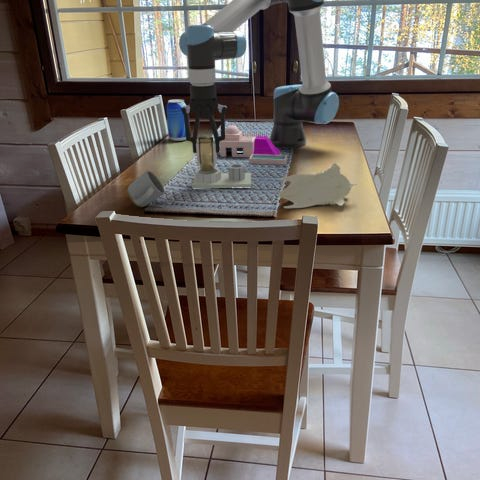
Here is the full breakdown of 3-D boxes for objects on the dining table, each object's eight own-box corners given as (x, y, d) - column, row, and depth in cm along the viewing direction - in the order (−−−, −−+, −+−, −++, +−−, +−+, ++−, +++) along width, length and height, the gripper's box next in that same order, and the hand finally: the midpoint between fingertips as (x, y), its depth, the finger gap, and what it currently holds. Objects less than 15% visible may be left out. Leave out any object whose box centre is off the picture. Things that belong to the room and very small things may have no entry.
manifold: (251, 177, 151) (250, 160, 148) (251, 188, 141) (250, 171, 138) (196, 178, 151) (194, 161, 149) (192, 189, 141) (191, 172, 139)
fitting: (215, 167, 146) (213, 135, 142) (214, 171, 142) (212, 139, 138) (200, 167, 146) (199, 135, 142) (199, 171, 142) (197, 139, 138)
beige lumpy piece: (283, 215, 123) (275, 172, 124) (279, 219, 135) (273, 180, 136) (364, 202, 123) (357, 159, 124) (354, 207, 135) (347, 168, 135)
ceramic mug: (144, 209, 132) (130, 186, 132) (168, 193, 131) (153, 170, 131) (131, 210, 122) (115, 185, 122) (156, 193, 121) (140, 168, 121)
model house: (215, 163, 167) (214, 133, 162) (225, 150, 182) (224, 123, 177) (285, 165, 163) (285, 135, 158) (289, 152, 178) (289, 124, 173)
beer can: (165, 140, 198) (161, 101, 191) (175, 135, 205) (172, 98, 198) (183, 141, 195) (179, 102, 188) (192, 137, 202) (189, 99, 195)
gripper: (233, 81, 136) (235, 159, 146) (174, 82, 137) (180, 159, 147) (232, 85, 129) (234, 166, 140) (170, 86, 130) (177, 167, 140)
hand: (207, 162), depth 143 cm, fingers closed on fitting, 4 cm apart
